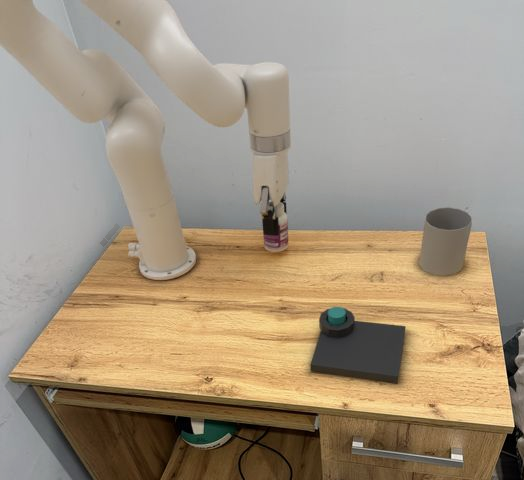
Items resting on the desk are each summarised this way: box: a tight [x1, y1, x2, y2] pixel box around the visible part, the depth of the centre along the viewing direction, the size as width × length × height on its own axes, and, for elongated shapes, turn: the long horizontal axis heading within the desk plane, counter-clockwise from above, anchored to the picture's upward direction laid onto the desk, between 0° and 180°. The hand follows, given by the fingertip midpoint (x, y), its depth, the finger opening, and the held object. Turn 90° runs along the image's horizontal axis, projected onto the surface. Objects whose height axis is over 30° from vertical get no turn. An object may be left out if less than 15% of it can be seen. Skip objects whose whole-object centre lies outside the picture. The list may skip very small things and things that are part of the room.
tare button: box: [328, 306, 346, 325], centre depth 86 cm, size 3×3×2 cm
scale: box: [309, 307, 407, 384], centre depth 84 cm, size 14×13×4 cm
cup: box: [418, 207, 473, 277], centre depth 96 cm, size 8×8×10 cm
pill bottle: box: [261, 200, 290, 253], centre depth 105 cm, size 5×5×10 cm
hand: (275, 226), depth 105 cm, fingers closed on pill bottle, 5 cm apart
